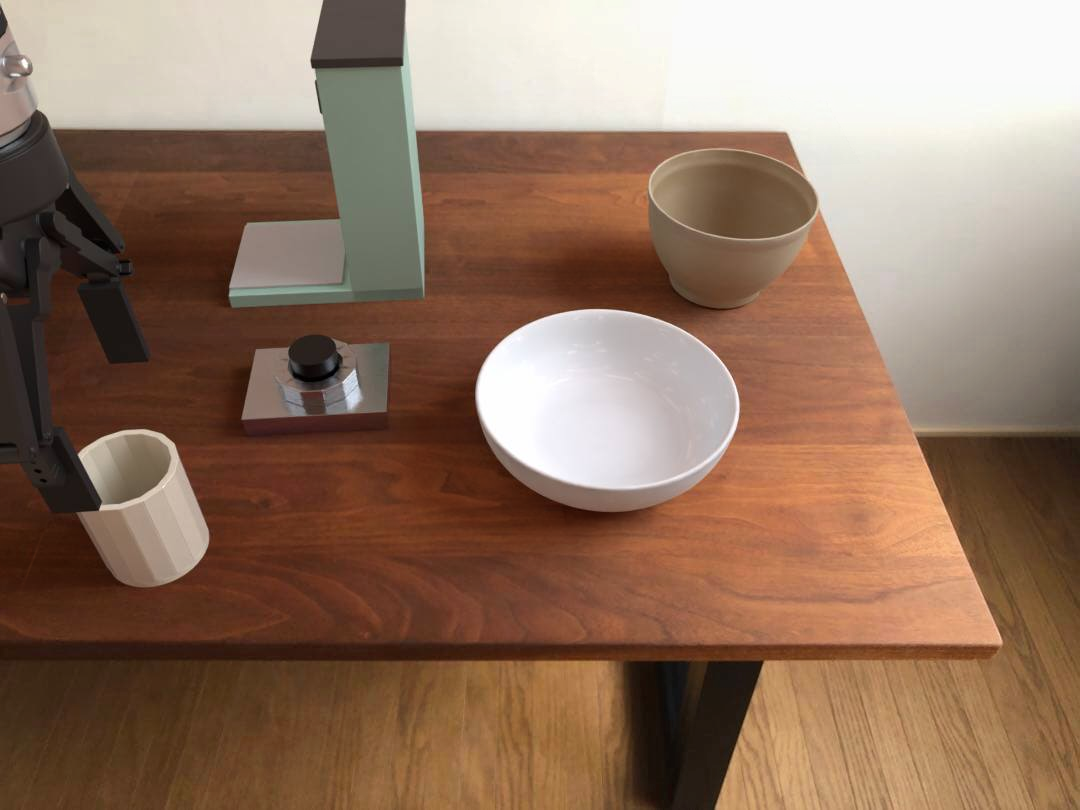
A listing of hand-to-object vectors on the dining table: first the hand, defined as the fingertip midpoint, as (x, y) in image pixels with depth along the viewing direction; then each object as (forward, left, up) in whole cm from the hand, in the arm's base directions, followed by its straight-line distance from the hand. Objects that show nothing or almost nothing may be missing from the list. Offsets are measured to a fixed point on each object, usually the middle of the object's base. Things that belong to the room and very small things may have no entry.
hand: (106, 428), depth 59 cm
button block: (+11, +15, -13) cm, 23 cm away
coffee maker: (+11, +35, -13) cm, 39 cm away
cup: (0, 0, -13) cm, 13 cm away
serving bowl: (+35, +7, -13) cm, 38 cm away
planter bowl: (+50, +29, -13) cm, 59 cm away
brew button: (+11, +15, -9) cm, 21 cm away
